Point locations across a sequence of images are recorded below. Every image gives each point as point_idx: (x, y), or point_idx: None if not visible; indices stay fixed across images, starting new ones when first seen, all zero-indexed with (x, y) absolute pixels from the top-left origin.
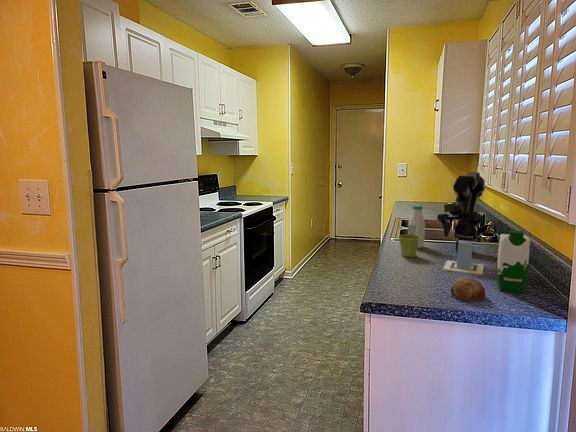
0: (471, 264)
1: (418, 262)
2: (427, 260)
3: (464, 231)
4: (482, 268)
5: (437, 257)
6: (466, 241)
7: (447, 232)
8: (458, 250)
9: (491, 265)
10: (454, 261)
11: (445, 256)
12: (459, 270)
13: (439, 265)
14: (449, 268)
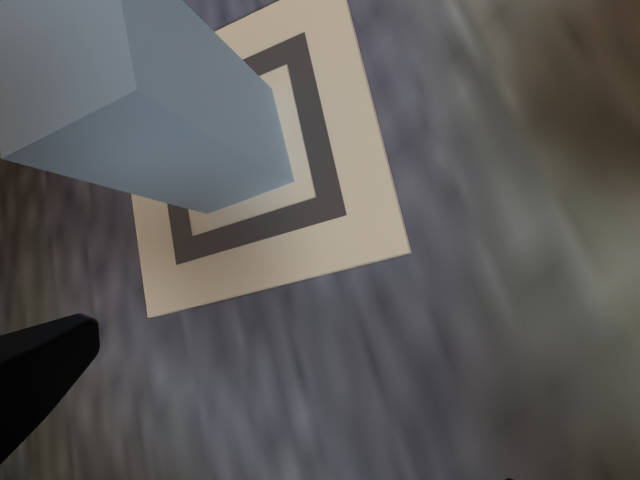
0: (211, 250)
1: (635, 25)
2: (596, 169)
3: (7, 355)
4: (136, 197)
5: (568, 371)
6: (48, 78)
7: None
8: (176, 3)
9: (123, 370)
10: (342, 256)
11: (514, 475)
12: (233, 28)
13: (416, 86)
14: (302, 18)
